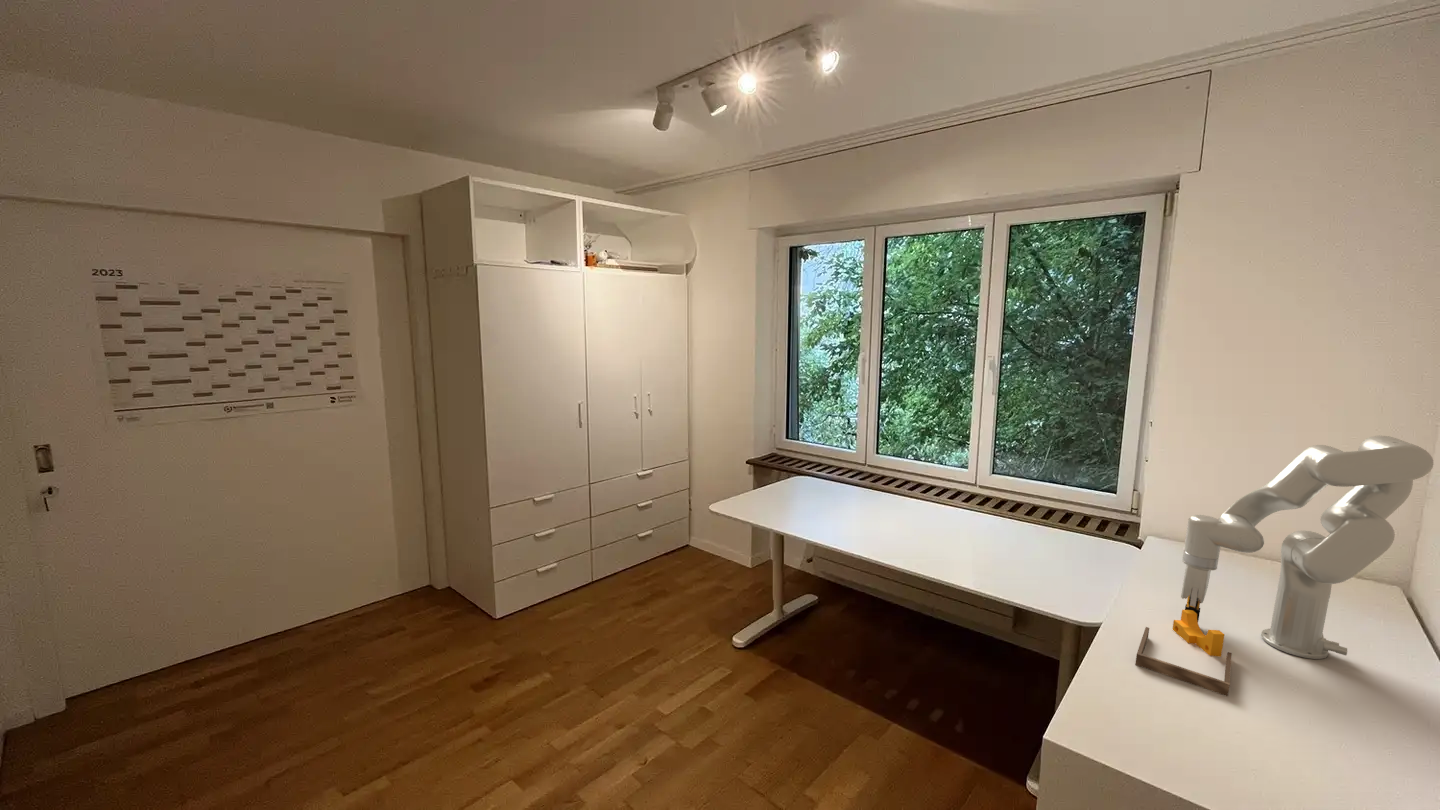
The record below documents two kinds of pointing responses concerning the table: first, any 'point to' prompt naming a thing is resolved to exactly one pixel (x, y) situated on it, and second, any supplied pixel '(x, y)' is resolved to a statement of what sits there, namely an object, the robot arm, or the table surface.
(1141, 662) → the walnut bay
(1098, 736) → the table surface
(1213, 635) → the pipe clamp
